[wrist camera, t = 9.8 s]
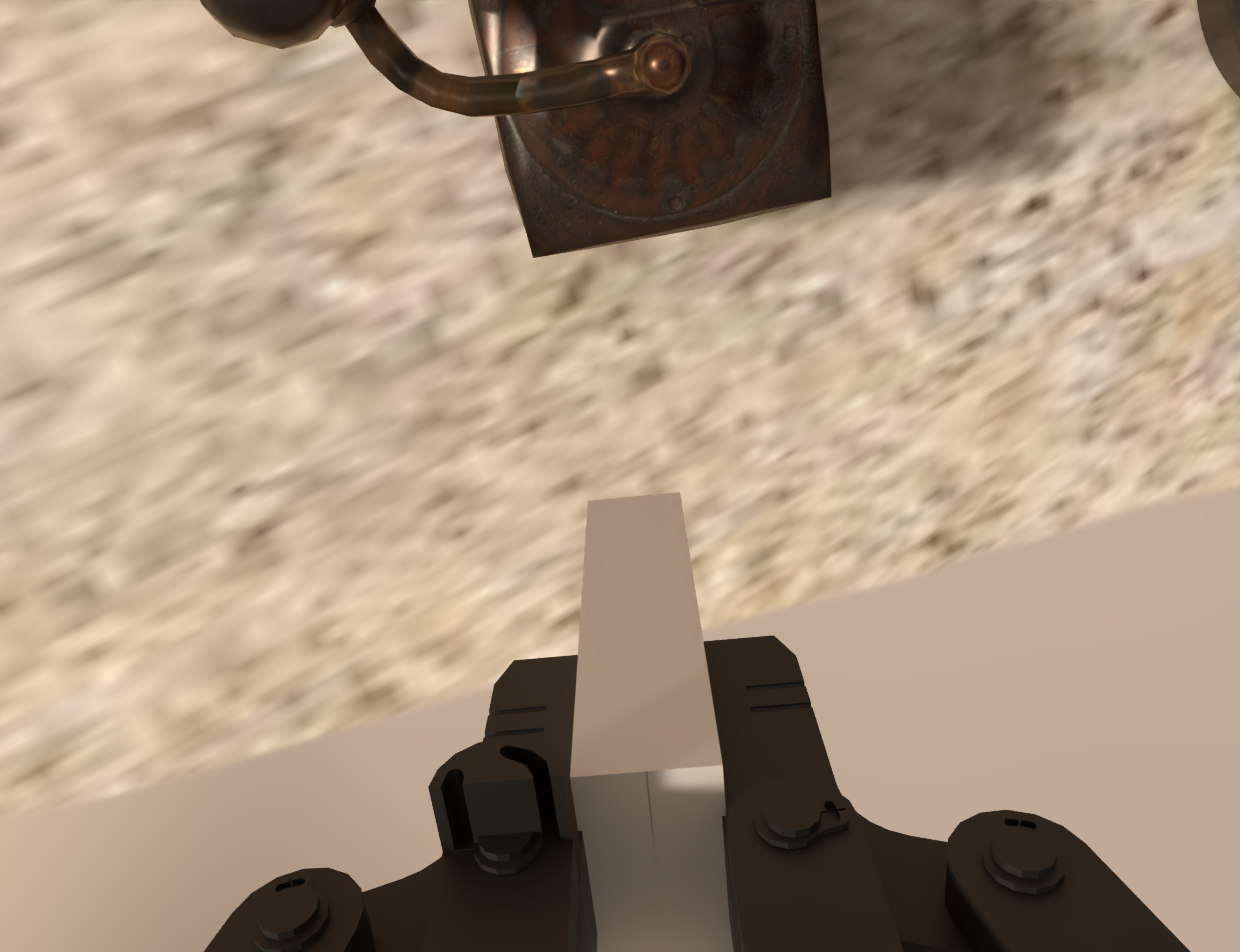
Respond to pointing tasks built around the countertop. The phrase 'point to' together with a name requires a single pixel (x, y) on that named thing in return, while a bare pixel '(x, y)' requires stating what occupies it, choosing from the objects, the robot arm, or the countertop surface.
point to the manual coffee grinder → (614, 104)
